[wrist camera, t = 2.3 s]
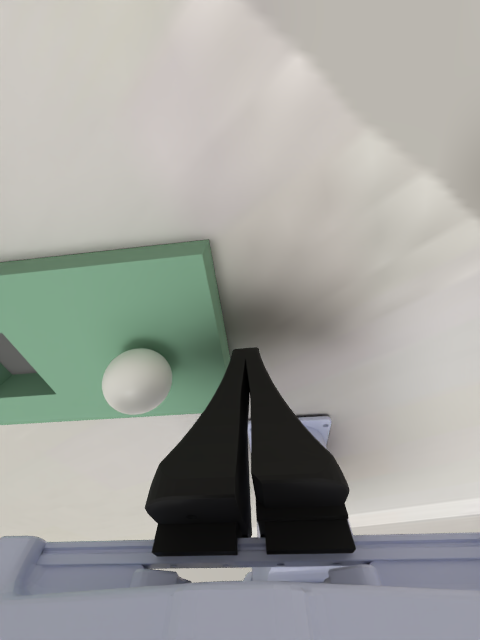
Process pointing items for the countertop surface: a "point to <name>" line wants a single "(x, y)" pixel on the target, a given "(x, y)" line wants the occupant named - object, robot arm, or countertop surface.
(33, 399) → the green
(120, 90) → the countertop surface
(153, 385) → the ball
